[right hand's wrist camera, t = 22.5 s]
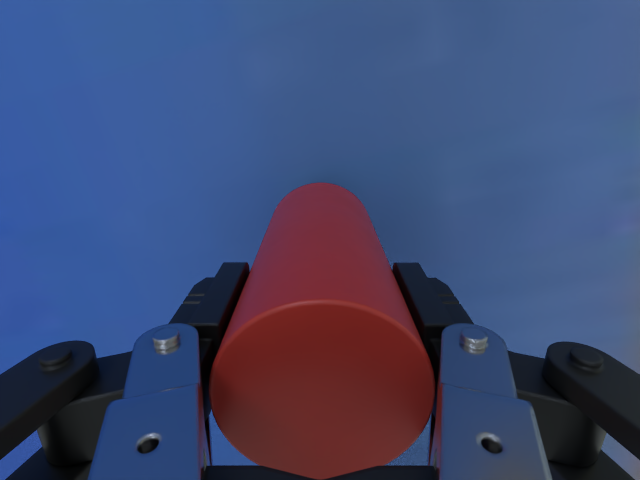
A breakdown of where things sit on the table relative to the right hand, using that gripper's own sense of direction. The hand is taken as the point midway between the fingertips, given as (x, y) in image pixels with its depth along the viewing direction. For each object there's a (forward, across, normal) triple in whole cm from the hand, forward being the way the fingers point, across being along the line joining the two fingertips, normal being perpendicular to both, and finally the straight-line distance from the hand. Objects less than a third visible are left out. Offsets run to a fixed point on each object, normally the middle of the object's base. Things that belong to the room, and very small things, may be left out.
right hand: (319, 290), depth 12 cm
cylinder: (+6, 0, 0) cm, 6 cm away
